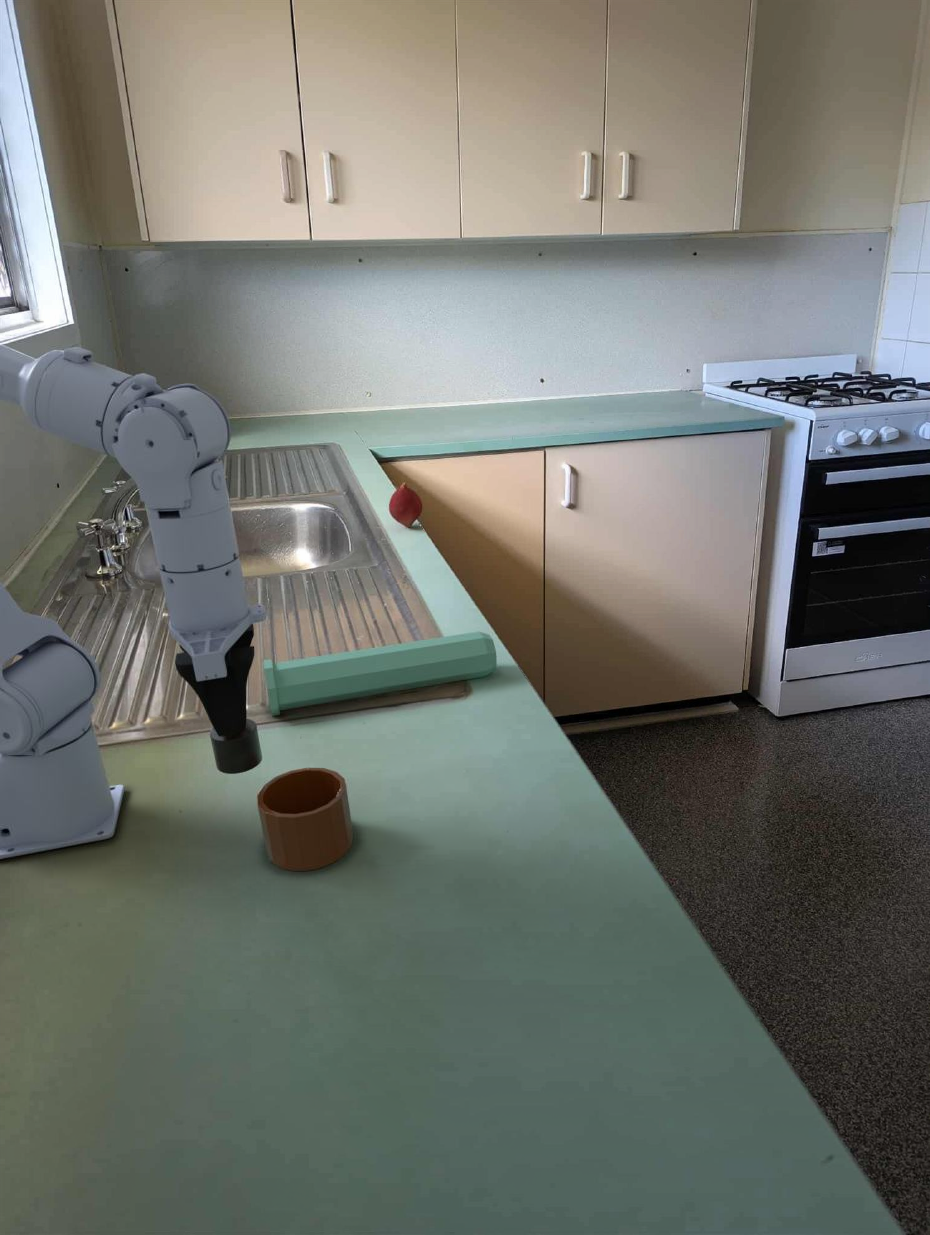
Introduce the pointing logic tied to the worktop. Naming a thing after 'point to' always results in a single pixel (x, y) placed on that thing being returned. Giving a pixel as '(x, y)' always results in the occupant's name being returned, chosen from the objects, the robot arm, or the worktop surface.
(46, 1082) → the worktop surface
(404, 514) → the onion
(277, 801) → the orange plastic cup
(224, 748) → the brush
